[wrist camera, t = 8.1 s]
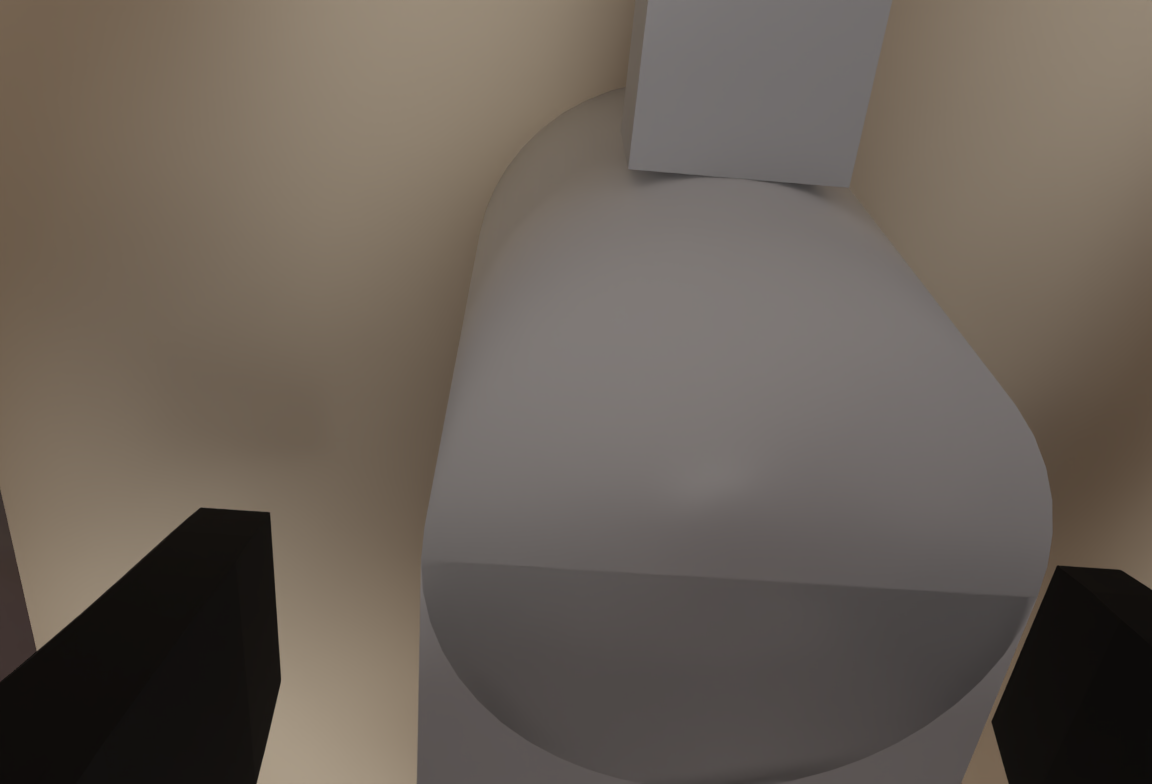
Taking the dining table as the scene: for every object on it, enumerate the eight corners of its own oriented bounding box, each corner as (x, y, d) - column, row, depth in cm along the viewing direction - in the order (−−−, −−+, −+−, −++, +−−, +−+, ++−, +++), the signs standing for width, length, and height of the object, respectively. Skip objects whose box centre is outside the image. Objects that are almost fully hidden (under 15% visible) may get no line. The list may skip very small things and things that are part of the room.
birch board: (1624, -480, 9) (1767, -518, 8) (982, 889, 18) (1007, 956, 17) (-179, -723, 8) (-292, -805, 7) (124, 849, 17) (96, 915, 16)
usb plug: (942, -104, 9) (1293, -24, 5) (751, 687, 14) (836, 1084, 10) (494, -150, 9) (432, -109, 5) (457, 671, 14) (410, 1071, 9)
